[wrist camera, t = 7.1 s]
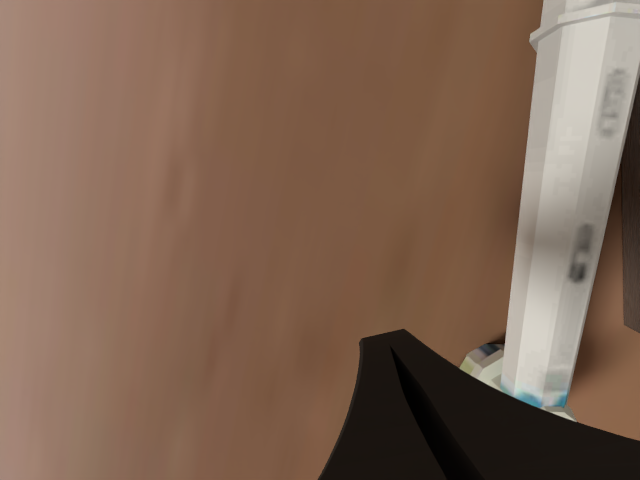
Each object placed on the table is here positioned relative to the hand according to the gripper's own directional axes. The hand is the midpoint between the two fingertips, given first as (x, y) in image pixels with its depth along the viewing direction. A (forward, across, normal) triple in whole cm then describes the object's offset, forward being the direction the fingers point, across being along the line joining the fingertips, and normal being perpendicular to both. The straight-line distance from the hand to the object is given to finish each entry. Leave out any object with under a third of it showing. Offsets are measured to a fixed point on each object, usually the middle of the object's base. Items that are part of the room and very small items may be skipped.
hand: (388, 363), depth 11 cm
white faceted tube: (+10, -10, +1) cm, 14 cm away
